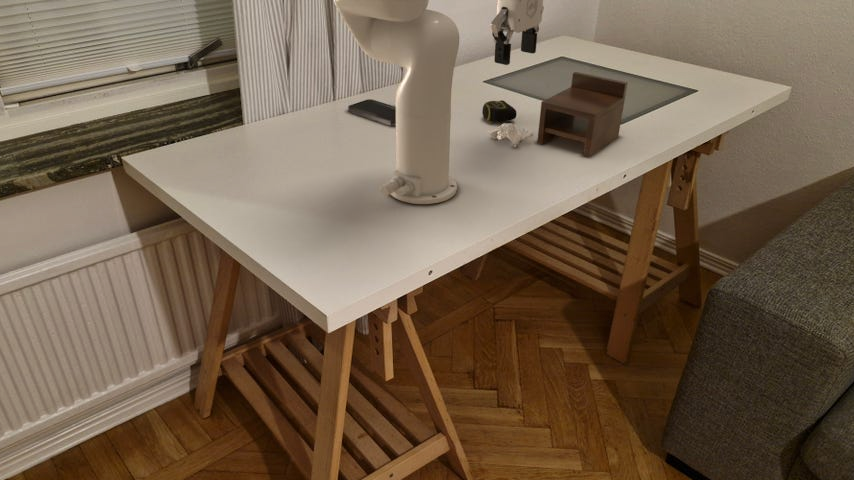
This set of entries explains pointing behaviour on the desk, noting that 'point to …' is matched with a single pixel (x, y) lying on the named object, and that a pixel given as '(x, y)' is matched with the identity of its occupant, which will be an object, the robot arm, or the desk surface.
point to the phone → (375, 111)
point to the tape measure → (498, 111)
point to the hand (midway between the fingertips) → (515, 57)
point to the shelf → (584, 112)
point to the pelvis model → (510, 133)
